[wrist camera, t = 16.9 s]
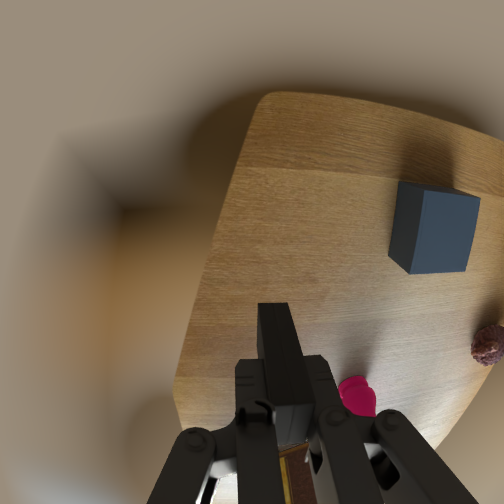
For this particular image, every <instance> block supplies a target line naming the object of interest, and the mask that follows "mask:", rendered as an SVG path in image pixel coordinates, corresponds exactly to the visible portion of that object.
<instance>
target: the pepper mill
mask: <svg viewBox="0 0 504 504" xmlns="http://www.w3.org/2000/svg"><path fill="white" fill-rule="evenodd" d="M338 391H339V394H340V397H341V399H342V402H343V404H344V406H345V407H346V408H348V409H349V410H351V412H352V413H354V414H356V415H360V416H370V417H376V414H375V407H376V396H375V393H374V391H373V389H372V388H370V387H368V383H367V381H366V379H365V378H364V377H362V376H353V377H350V378H348V379H346V380H345V381H343V382H342V383H341V384H340V386H339V388H338Z"/></svg>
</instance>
